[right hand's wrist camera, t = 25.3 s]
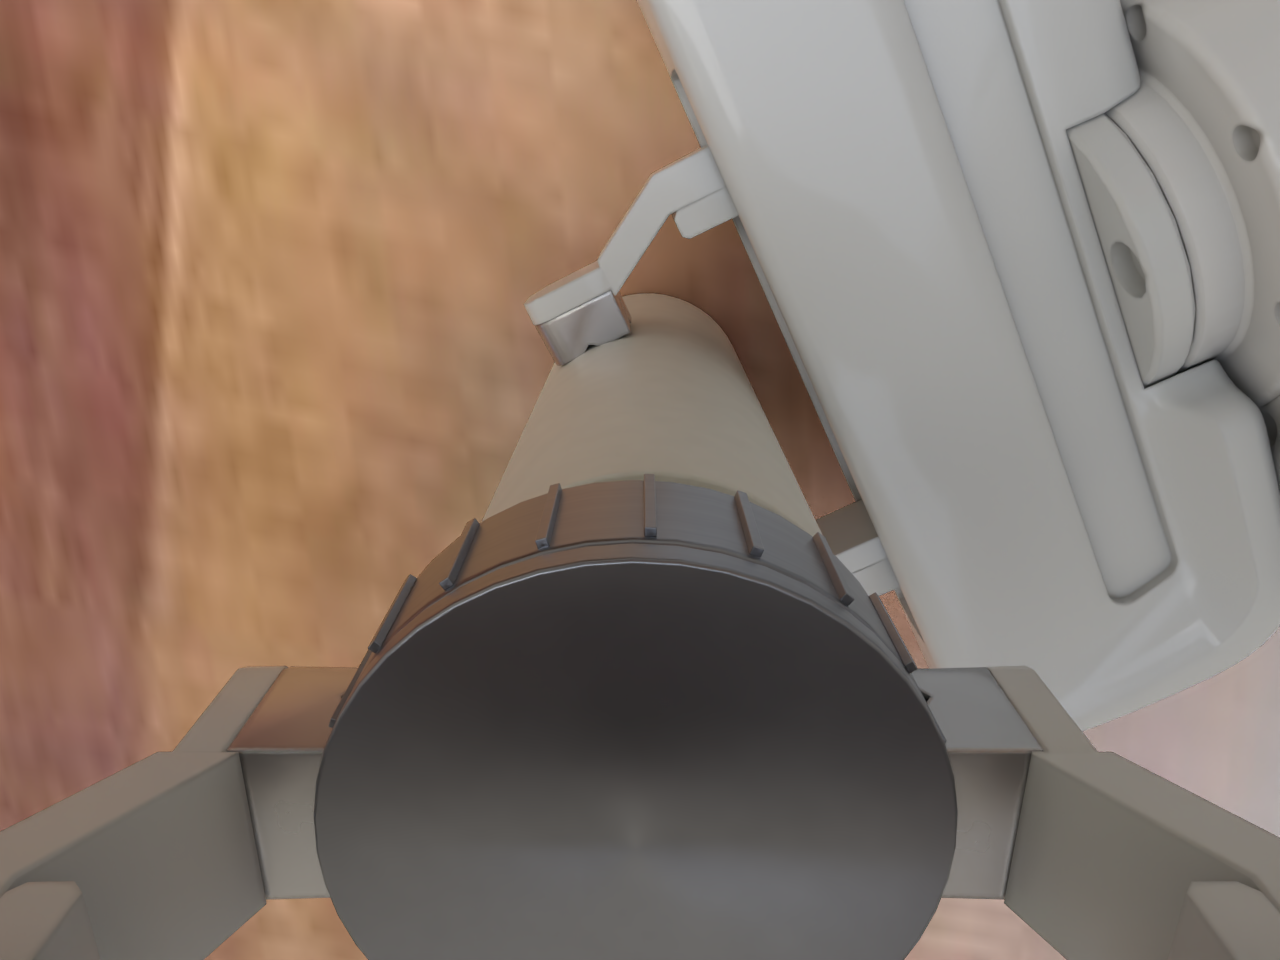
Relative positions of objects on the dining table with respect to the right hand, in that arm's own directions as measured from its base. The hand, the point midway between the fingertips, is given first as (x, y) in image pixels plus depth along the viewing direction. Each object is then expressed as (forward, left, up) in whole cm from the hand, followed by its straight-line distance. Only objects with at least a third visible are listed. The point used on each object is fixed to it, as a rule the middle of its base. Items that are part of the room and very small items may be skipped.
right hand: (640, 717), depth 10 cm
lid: (0, 0, +2) cm, 2 cm away
